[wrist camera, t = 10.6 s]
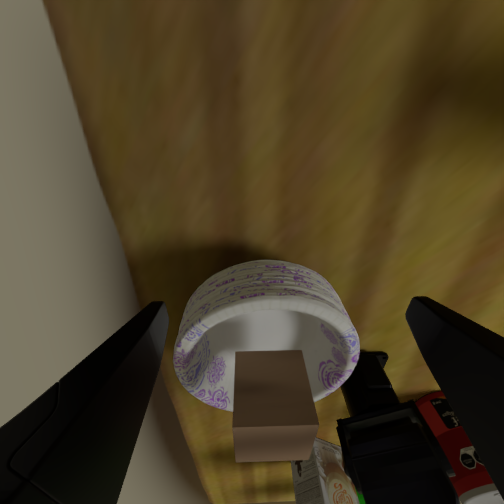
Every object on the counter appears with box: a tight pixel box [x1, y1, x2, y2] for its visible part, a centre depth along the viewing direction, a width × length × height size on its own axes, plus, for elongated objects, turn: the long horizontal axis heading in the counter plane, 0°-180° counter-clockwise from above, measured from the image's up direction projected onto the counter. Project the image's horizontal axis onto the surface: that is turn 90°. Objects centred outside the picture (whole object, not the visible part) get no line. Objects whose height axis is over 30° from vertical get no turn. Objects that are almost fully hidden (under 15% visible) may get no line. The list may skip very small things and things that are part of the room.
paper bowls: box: [173, 260, 360, 412], centre depth 23 cm, size 15×15×8 cm
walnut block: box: [233, 350, 319, 462], centre depth 17 cm, size 5×5×5 cm
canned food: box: [415, 391, 504, 504], centre depth 34 cm, size 8×8×11 cm
